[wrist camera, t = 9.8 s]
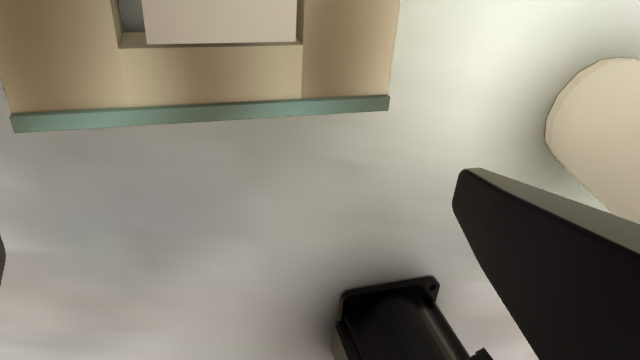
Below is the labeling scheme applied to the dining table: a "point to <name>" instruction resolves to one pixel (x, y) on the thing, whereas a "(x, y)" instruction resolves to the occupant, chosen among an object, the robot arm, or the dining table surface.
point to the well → (188, 67)
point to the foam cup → (601, 133)
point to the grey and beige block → (219, 21)
